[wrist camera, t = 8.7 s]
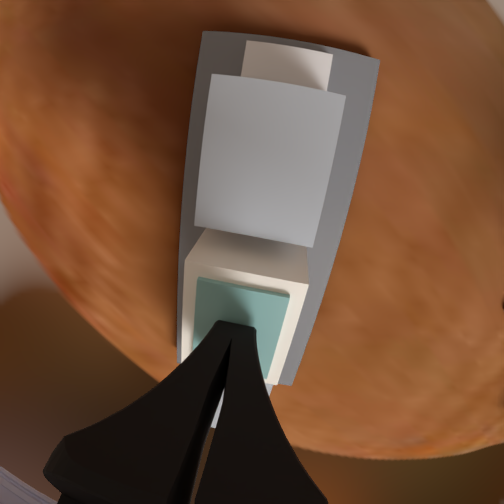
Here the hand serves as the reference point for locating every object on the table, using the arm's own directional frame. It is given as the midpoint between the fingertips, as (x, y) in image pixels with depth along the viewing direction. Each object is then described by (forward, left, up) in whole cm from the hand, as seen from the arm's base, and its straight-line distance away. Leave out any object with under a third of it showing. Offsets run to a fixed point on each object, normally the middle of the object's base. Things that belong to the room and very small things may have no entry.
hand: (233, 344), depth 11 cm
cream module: (0, 0, -6) cm, 6 cm away
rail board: (0, -1, -7) cm, 7 cm away
